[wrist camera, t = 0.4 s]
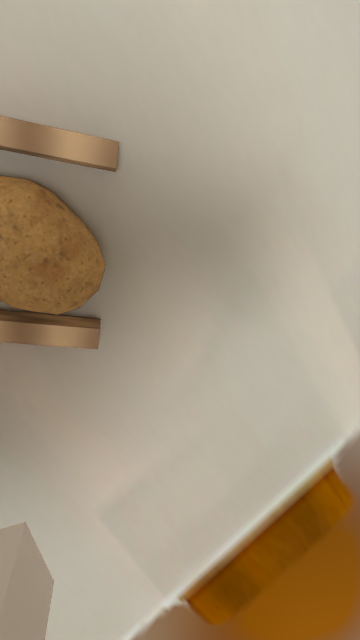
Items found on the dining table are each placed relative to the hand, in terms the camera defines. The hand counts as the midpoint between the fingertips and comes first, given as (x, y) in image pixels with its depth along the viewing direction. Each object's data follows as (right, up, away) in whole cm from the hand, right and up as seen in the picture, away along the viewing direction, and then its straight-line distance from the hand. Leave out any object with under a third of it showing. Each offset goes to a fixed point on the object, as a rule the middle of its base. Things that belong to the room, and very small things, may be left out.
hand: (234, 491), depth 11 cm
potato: (-16, +13, +20) cm, 28 cm away
